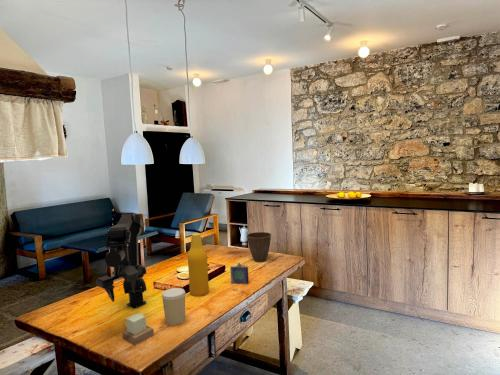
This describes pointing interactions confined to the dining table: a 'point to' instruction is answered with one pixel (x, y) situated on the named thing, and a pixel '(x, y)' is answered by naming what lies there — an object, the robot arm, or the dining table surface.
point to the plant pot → (259, 245)
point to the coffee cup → (174, 306)
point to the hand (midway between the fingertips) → (123, 297)
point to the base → (138, 335)
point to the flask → (239, 274)
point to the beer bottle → (197, 267)
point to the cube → (136, 323)
